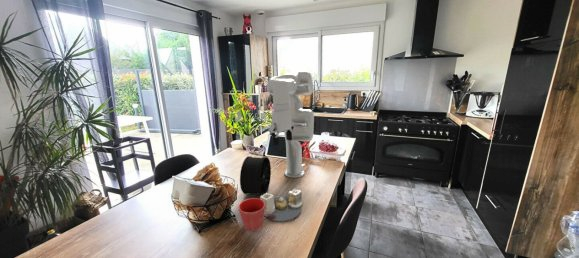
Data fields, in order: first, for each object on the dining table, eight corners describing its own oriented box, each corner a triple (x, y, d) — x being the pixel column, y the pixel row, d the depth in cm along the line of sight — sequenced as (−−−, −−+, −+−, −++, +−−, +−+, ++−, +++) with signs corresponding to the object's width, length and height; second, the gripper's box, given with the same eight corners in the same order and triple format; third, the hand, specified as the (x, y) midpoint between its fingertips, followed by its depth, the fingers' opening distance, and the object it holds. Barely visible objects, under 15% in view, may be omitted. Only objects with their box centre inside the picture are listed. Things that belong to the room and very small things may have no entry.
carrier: (280, 194, 121) (279, 180, 119) (309, 207, 109) (309, 191, 107) (253, 211, 107) (251, 195, 105) (283, 228, 95) (283, 210, 93)
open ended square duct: (267, 203, 111) (266, 190, 109) (277, 208, 106) (277, 195, 105) (257, 210, 106) (256, 197, 104) (267, 216, 101) (266, 202, 100)
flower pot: (255, 237, 91) (253, 215, 88) (235, 228, 96) (233, 207, 94) (270, 221, 99) (269, 202, 97) (251, 214, 105) (249, 195, 102)
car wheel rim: (260, 203, 113) (258, 166, 108) (241, 201, 115) (238, 164, 110) (271, 184, 132) (269, 151, 127) (255, 182, 134) (252, 150, 129)
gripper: (287, 104, 114) (288, 137, 118) (262, 109, 101) (264, 145, 105) (299, 105, 109) (299, 139, 114) (274, 110, 96) (276, 148, 101)
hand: (282, 142), depth 109 cm, fingers open, 9 cm apart
